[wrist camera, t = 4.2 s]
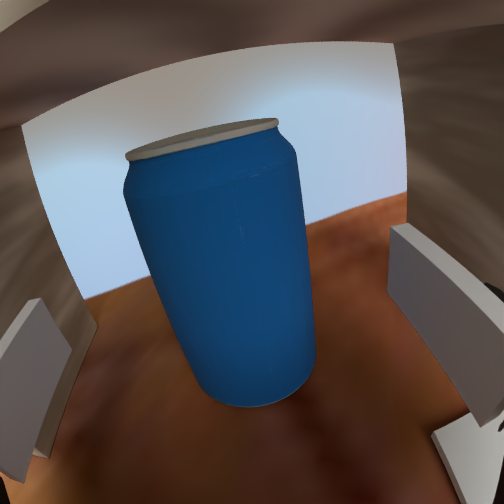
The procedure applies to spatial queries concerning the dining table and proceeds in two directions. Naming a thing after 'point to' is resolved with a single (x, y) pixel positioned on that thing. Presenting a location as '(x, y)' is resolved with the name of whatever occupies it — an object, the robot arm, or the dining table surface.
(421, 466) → the dining table surface
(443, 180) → the rectangular arch
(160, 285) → the beverage can
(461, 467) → the grey mat
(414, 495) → the dining table surface
